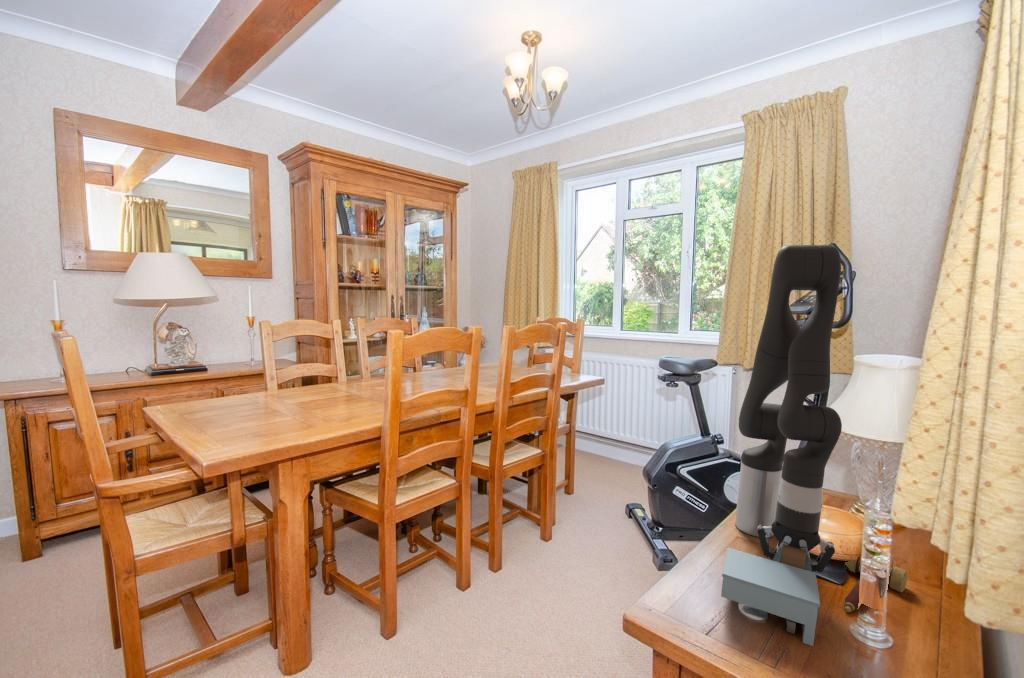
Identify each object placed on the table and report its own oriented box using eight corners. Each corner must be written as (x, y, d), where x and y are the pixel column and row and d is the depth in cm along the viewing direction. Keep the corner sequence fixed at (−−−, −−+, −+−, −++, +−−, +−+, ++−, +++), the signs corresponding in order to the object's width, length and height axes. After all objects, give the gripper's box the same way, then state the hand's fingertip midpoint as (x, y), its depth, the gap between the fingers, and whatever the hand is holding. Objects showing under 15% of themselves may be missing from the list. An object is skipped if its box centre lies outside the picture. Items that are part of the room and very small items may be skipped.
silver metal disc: (738, 602, 91) (739, 595, 91) (767, 612, 89) (768, 605, 89) (737, 617, 87) (737, 610, 87) (767, 628, 84) (767, 621, 84)
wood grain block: (777, 580, 98) (782, 536, 96) (799, 587, 96) (805, 542, 94) (777, 627, 84) (784, 576, 82) (803, 637, 82) (810, 584, 81)
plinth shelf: (723, 583, 96) (727, 547, 95) (810, 612, 89) (815, 572, 88) (718, 613, 87) (722, 573, 86) (814, 647, 80) (820, 604, 79)
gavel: (880, 614, 85) (818, 586, 92) (877, 636, 85) (816, 606, 93) (908, 567, 98) (852, 546, 105) (906, 587, 98) (850, 564, 106)
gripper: (839, 504, 92) (829, 584, 94) (759, 486, 99) (751, 561, 101) (844, 520, 86) (833, 605, 88) (758, 500, 93) (749, 579, 95)
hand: (789, 581), depth 95 cm, fingers closed on wood grain block, 4 cm apart
